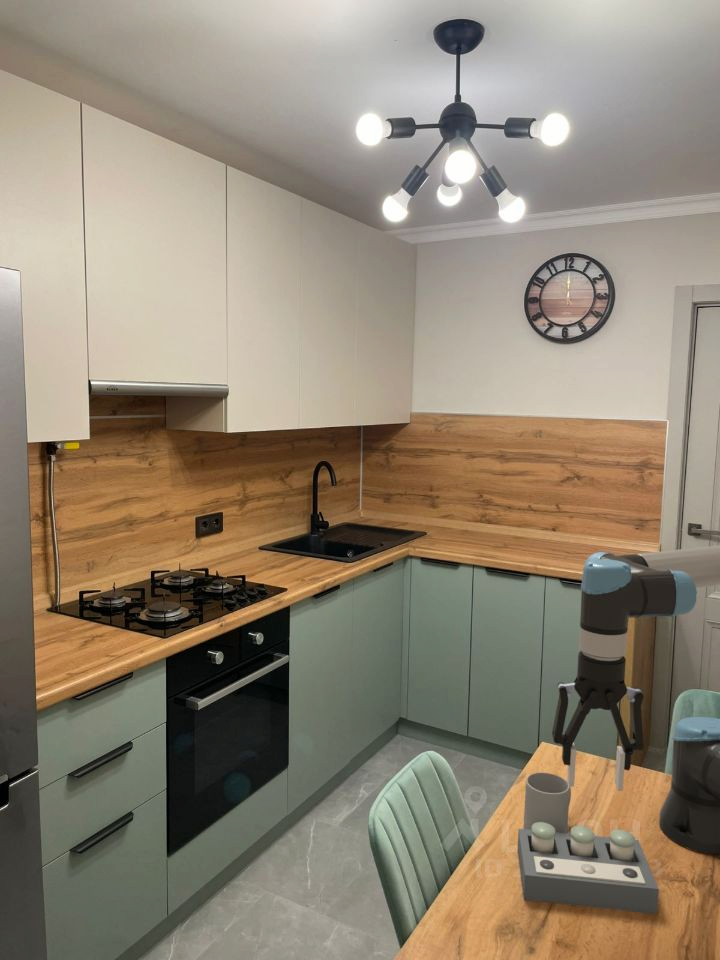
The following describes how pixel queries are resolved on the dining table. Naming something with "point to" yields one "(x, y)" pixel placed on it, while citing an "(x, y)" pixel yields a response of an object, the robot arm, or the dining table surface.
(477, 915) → the dining table surface
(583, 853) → the button mid
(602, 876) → the card
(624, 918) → the dining table surface
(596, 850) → the button board
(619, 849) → the button
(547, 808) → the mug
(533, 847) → the button
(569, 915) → the dining table surface
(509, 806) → the dining table surface
